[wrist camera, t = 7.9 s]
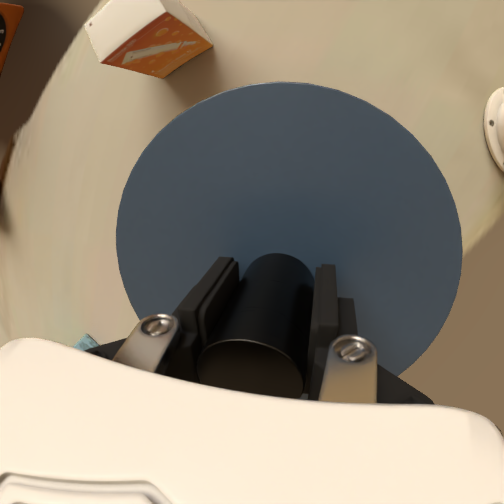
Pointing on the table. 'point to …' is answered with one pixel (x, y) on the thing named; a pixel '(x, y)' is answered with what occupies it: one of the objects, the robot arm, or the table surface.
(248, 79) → the table surface
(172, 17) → the small box
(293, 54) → the table surface
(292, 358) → the lid
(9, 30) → the alarm clock
